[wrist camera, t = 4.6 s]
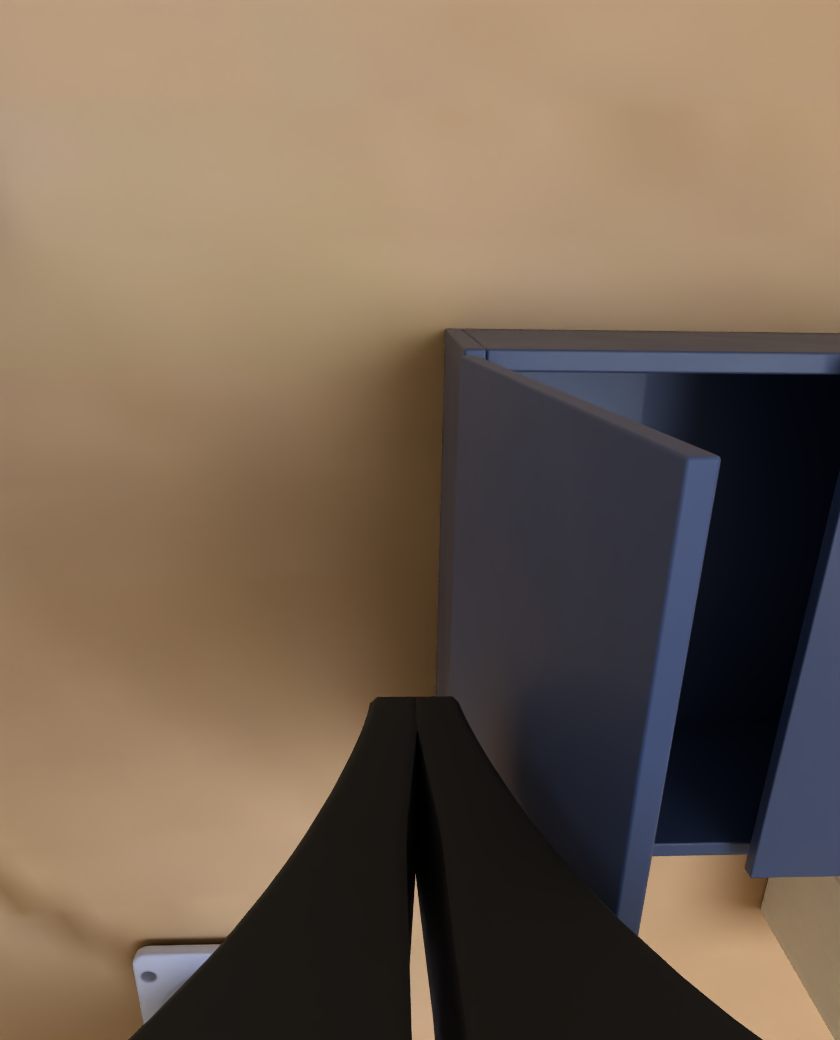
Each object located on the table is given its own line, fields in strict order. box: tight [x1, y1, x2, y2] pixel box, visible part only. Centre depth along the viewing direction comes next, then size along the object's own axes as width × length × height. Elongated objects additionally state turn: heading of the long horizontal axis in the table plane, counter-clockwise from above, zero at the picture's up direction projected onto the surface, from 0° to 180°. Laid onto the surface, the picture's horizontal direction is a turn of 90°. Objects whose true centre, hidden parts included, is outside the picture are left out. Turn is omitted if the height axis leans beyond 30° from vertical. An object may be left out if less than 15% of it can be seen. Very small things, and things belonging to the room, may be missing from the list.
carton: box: [436, 329, 840, 878], centre depth 16 cm, size 12×14×6 cm
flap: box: [449, 356, 721, 936], centre depth 10 cm, size 12×7×1 cm
